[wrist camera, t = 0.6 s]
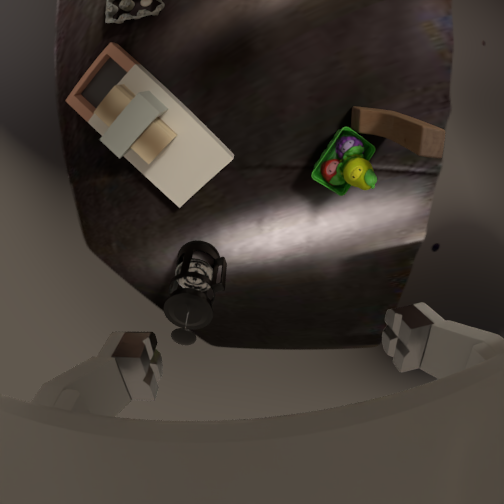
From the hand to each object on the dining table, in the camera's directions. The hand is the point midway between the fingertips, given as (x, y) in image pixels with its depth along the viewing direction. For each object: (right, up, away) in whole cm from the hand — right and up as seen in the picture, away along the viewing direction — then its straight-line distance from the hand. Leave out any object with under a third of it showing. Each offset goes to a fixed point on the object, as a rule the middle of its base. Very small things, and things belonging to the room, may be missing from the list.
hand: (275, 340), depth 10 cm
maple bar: (-20, +26, +36) cm, 49 cm away
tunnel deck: (-20, +27, +39) cm, 51 cm away
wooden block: (+22, +28, +39) cm, 53 cm away
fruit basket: (+16, +21, +44) cm, 51 cm away
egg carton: (-21, +47, +26) cm, 58 cm away
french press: (-12, +2, +56) cm, 57 cm away
